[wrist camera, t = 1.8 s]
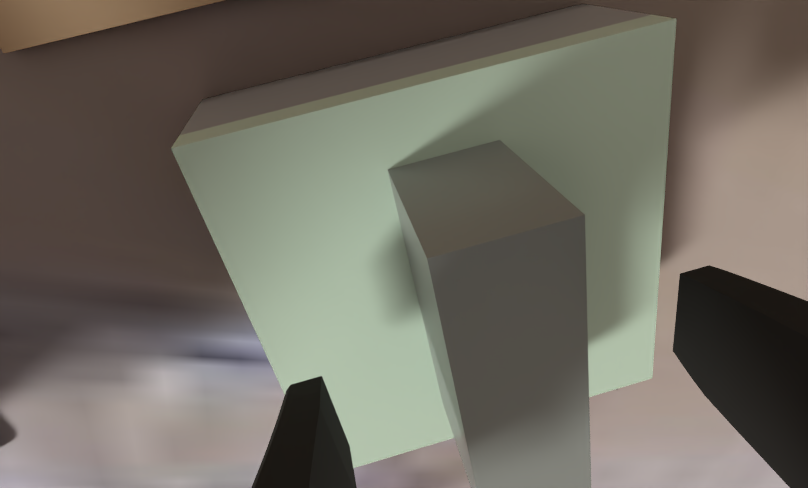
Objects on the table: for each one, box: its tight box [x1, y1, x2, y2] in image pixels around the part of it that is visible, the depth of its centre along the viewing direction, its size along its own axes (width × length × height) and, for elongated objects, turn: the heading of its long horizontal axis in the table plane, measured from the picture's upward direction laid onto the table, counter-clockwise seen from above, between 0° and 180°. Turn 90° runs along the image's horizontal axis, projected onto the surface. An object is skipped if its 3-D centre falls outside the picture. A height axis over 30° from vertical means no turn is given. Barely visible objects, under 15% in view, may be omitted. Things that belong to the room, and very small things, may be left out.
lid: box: [171, 15, 676, 488], centre depth 11 cm, size 10×10×5 cm
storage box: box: [180, 4, 651, 135], centre depth 14 cm, size 10×10×3 cm
